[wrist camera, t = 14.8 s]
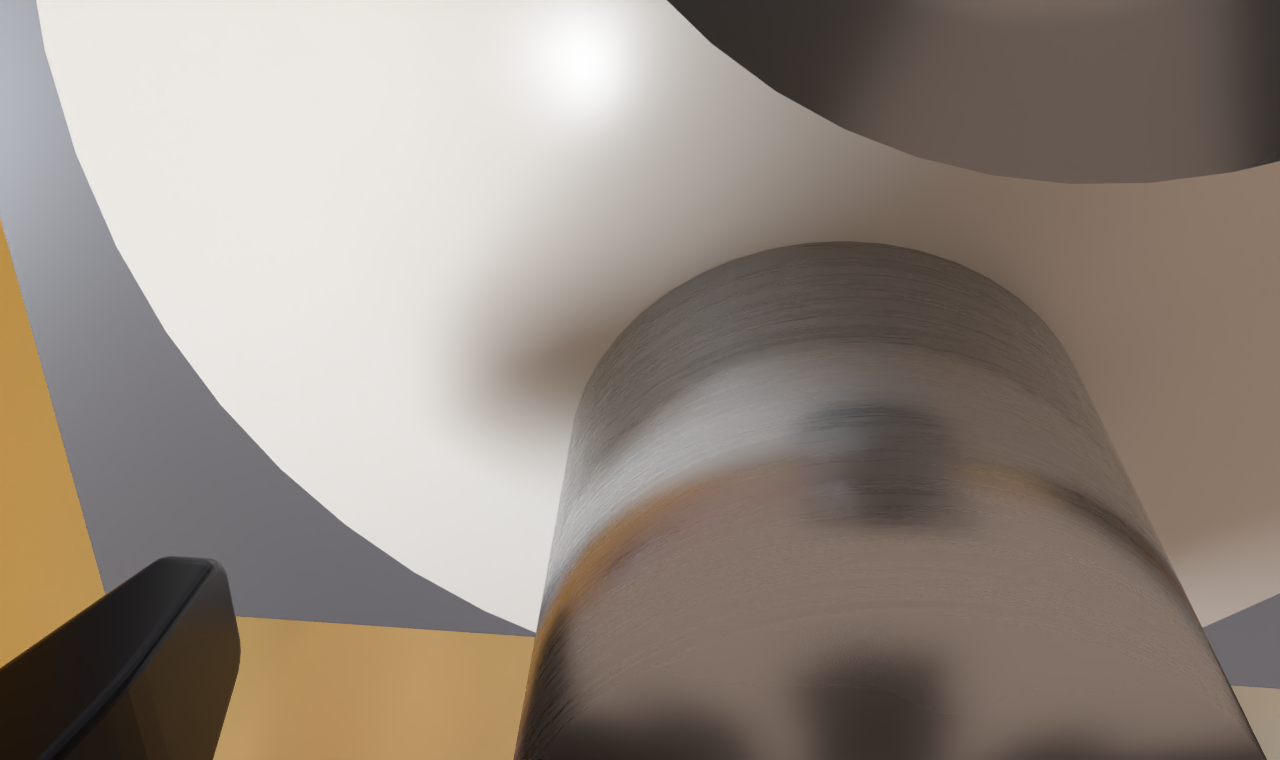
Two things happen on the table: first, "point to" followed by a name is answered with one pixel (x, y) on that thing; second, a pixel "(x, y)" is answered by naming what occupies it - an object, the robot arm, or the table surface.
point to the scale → (531, 286)
